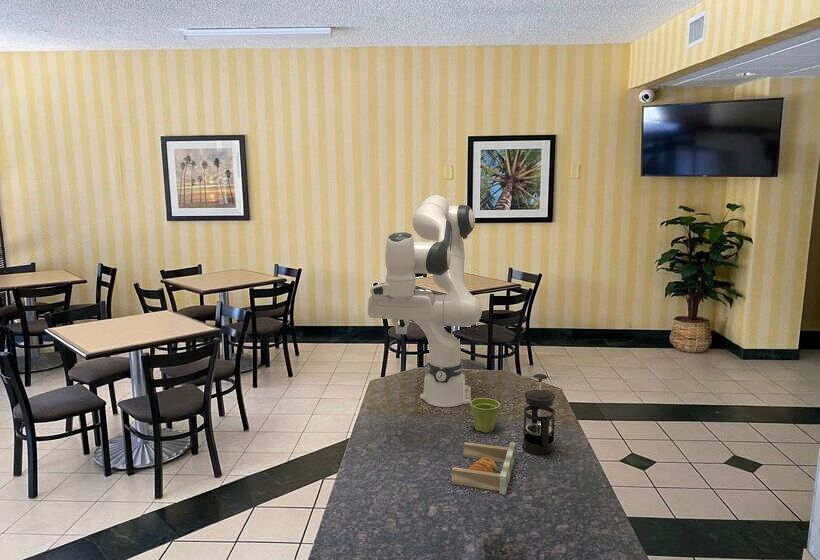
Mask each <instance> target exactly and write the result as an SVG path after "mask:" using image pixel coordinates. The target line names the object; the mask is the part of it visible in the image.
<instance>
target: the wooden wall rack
mask: <svg viewBox="0 0 820 560" xmlns="http://www.w3.org/2000/svg"><path fill="white" fill-rule="evenodd" d="M466 457H468V459H473V460H480V459H481V458H482V457H484V458H486V457H488V458H491V459H492V460H494V462H497V463H503V464H502V469H501V471H500V473H498V472H497V473H491V472H484V471H477V470H469V468H461V467H454V466H453V467H452V468H451V484H452V485H458V486H463V485H464V487H470V488H479V489H484V490H485V489H486V490H491V491H498V492H499V494H500V495H506V494H507V490H508V487H509V484H510V478H511V476H512V473H513V468H514V465H515V461H516V442H512V441H511V442H509V445H508V446H507V447H506V446H498V445H490V444H482V443H476V442H475V443H474V442H465V441H464V443H463V458H466Z"/></svg>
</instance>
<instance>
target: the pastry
mask: <svg viewBox="0 0 820 560" xmlns="http://www.w3.org/2000/svg"><path fill="white" fill-rule="evenodd" d="M495 462H496V461H494V460H492V459H491V458H488V457H486V458H484V457H482V458H481V459H477V460H476V461H474V462H473V463H471V464H470V466H469V467H468V469H469V470H477V471H484V472H491V473H498V472H499V467H498V466H497V463H495Z"/></svg>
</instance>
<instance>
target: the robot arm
mask: <svg viewBox="0 0 820 560" xmlns="http://www.w3.org/2000/svg"><path fill="white" fill-rule="evenodd" d="M475 223H476V216H475V214H474V211H473V208H471V206H470V205H467V204H459V205H450V203H449V201H448V200H447V198H446V197H444V196H442V195H439V194H431V195H430V196H428V197H426V199H424V200H423V201H422V202H421V204H420V205H419V206H418V207H417V209H416V211H414V213H413V217H412V226H413V227H412V228H413V230H414V231H415V233H416V234H417V235H418V236H419V237H420V238H421V239H424V240H426V241H414V236H413V234H411V233H408V232H397V233H396V232H395V233H391V234H390V235H389V236H387V240H386V244H385V245H386V246H385V257H384V258H385V267H386V275H385V282H381V283H378V284H376V285H373V286H371V288H370V289H369V293H370V296H369V298H368V301H367V315H368V317H369V318H371V319H384V320H386V319H387V320H391V324H392V325H393V326H394V329H395V334H396V335H397V334H398V335H406V334H407V333H408V330H407V329H408V327H409V325H410V323H411V321H412V322H414V323H415V325H417V326H418V327H420V329H421V330H422V331H423V332H424V335H425V336H426V339H427V342H428V350H429V361H428V366H427V368H428V370H427V371H428V373H427V374H426V375H425V376H424V382H423V383H424V384H423V385H424V386H423V392H422V393H421V394H419V398H420V399H422V400H424V401H425V402H426V404H428V405H431V406H432V407H433V406H434V407H438V408H439V407H440V408H452V407H453V408H454V407H458V406H461V405H468V404H470V402H471V401H472V394H471V393H472V390H471V389H472V388H471V385H467V384H466V375H465V374H464V373H463V365H462V364H463V363H462V361H463V360H462V358H461V346H462V345H461V342H460V340H459V339H458V338H457V337H456V336H455V335H453V334H451V333H449V332H448V331H447V330H446V329H445V326H446V327H447V326H448V327H467V326H474V325H477V323H478V322H479V321H480V320H481V317H482V314H483V309H482V308H483V307H482V305H481V302H480V300H478V298H477V297H476V296H474V295H473V294H471V292H470V291H469V290H468V288H467V286H466V284H465V256H466V255H465V254H466V253H465V247H464V246H465V245H464V240H467V239H468V236H469V235H470V234H471V233H472V232H473V230H474V228H475V225H476V224H475ZM431 241H432V242H431ZM416 274H425V275H426V274H428V275H429V274H430V275H432V279H433V282H434V284H435V285H436V286H438V287H439V288H440V289H442V290H444V291H446V292H447V294H435V293H434V292H433V291H431V290H430V289H420V288H419V289H418V288H416V285H417V282H416V281H417V280H416ZM400 320H401V321H403V323H404V326H400V325H399V323H398V322H399V321H400Z"/></svg>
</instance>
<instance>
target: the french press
mask: <svg viewBox="0 0 820 560" xmlns="http://www.w3.org/2000/svg"><path fill="white" fill-rule="evenodd" d="M532 377H533V378H534V379H537V380H538V382H539V389H531V390H527V391H526V392H524V395H523V396H524V398H525V403H526V404H527V405H528V406H525V407H524V409H523V430H522V431H523V434H522V437H523V438H522V450H523V451H524V452H525V453H527V454H529V455H532V456H538V457H539V456H541V457H542V456H544V457H545V456H549V455H551V454H553V453H554V451H555V446H554V445H555V420H556V419H555V417H556V411H555V409H554V408H552V406H554V403H555V399H556V395H555V393H554V392H551V391H549V390H544V389H542V387H541V386H542V382H543V380H546V379H548V378H549V376H548V375H547V374H544V373H535V374H533V376H532ZM541 410H542V411H546V412H548V413H549V412H550V413H551V414H550V415H547V416H546V415H545V416H541ZM528 411H531V414H530V413H527V412H528ZM527 419H528V420H531V422H530V423H527ZM550 421H551V425H550ZM536 443H537V444H536ZM538 443H539V444H538Z"/></svg>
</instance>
